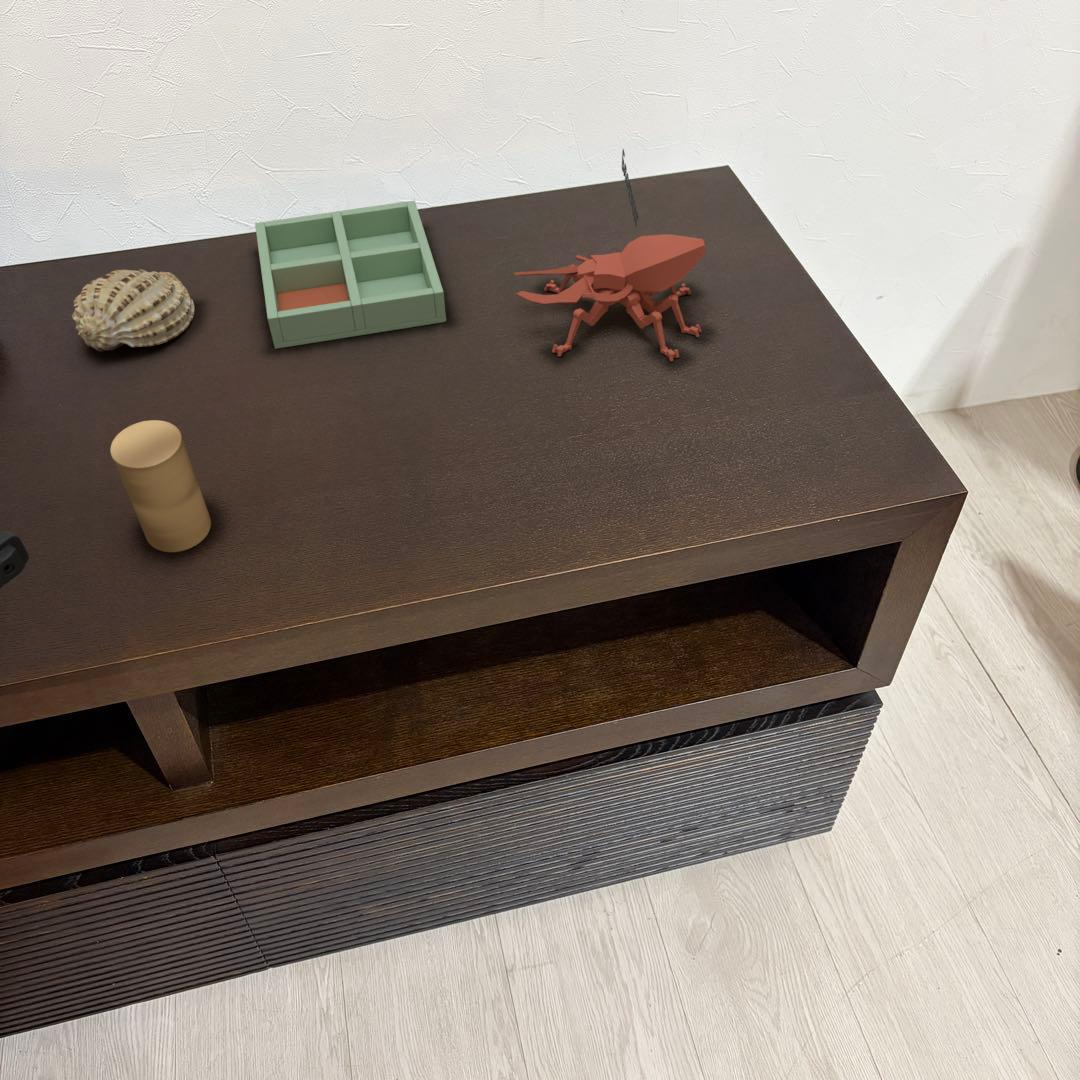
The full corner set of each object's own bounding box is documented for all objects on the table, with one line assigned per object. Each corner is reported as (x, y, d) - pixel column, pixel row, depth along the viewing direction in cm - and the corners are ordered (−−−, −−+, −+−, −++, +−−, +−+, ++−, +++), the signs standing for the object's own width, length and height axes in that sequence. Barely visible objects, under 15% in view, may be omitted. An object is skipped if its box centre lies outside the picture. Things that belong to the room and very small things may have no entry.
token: (134, 526, 75) (97, 441, 69) (190, 495, 77) (160, 410, 71) (165, 562, 73) (131, 478, 67) (223, 529, 75) (194, 444, 69)
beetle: (685, 269, 95) (699, 131, 85) (710, 360, 86) (729, 218, 77) (512, 278, 94) (507, 140, 85) (520, 370, 86) (516, 229, 76)
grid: (274, 349, 88) (267, 318, 86) (261, 252, 97) (254, 222, 95) (446, 321, 90) (443, 291, 88) (417, 229, 99) (414, 200, 97)
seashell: (121, 328, 95) (60, 355, 85) (113, 257, 92) (50, 277, 83) (207, 334, 94) (156, 362, 85) (202, 263, 92) (148, 284, 82)
